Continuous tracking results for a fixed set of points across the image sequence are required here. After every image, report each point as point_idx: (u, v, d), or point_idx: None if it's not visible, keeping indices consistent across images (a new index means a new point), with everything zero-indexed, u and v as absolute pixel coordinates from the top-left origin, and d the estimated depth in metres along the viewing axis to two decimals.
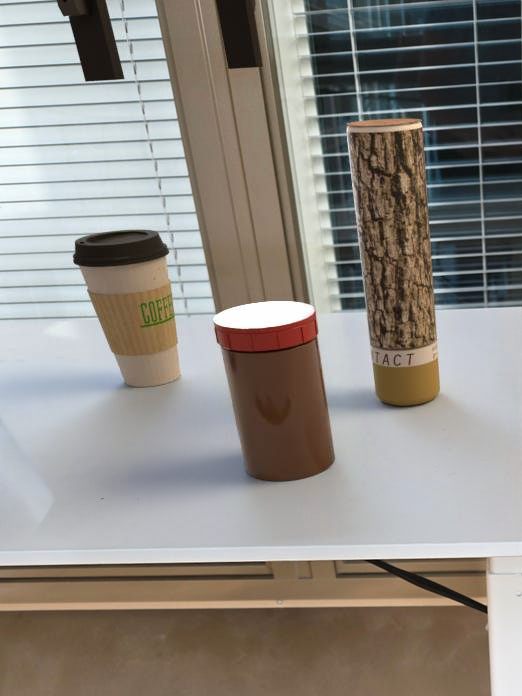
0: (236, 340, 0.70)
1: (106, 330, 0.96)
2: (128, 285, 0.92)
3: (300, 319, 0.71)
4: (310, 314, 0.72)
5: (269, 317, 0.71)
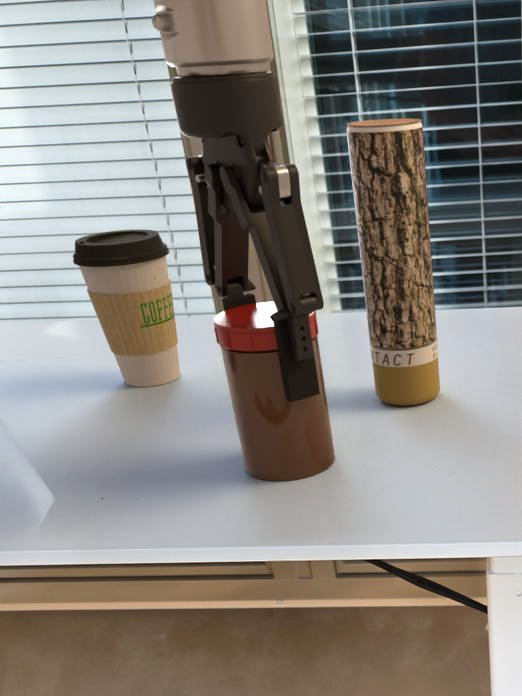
0: (236, 340, 0.70)
1: (106, 330, 0.96)
2: (128, 285, 0.92)
3: None
4: (310, 314, 0.72)
5: (269, 317, 0.71)
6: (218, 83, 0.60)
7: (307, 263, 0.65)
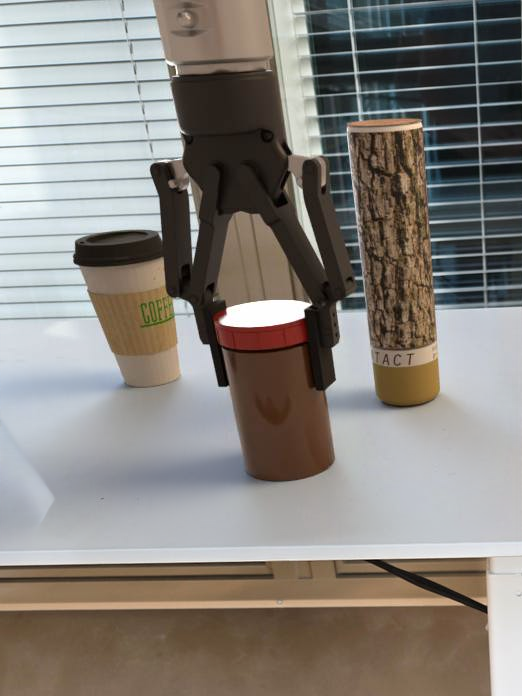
0: (268, 338, 0.70)
1: (106, 330, 0.96)
2: (128, 285, 0.92)
3: None
4: None
5: (277, 313, 0.72)
6: (252, 78, 0.61)
7: (343, 249, 0.69)
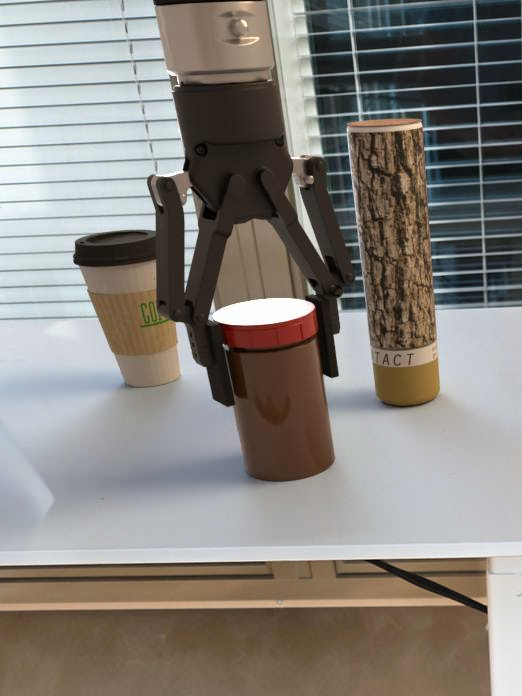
0: (308, 326, 0.71)
1: (106, 330, 0.96)
2: (128, 285, 0.92)
3: (296, 299, 0.75)
4: (281, 298, 0.75)
5: (279, 308, 0.73)
6: (277, 85, 0.64)
7: None
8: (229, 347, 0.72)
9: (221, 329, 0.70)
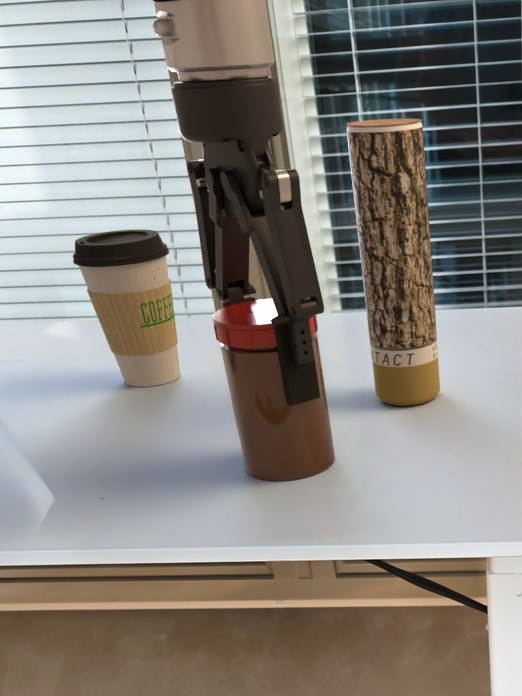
0: None
1: (106, 330, 0.96)
2: (128, 285, 0.92)
3: None
4: None
5: None
6: (219, 88, 0.60)
7: (308, 267, 0.65)
8: (229, 347, 0.72)
9: (221, 329, 0.70)
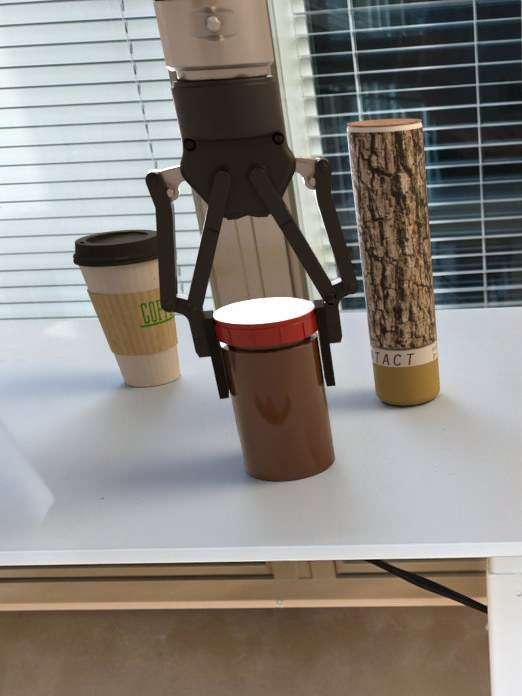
0: None
1: (106, 330, 0.96)
2: (128, 285, 0.92)
3: (249, 300, 0.75)
4: (232, 304, 0.74)
5: (266, 306, 0.73)
6: (270, 82, 0.62)
7: None
8: (229, 347, 0.72)
9: (271, 329, 0.69)
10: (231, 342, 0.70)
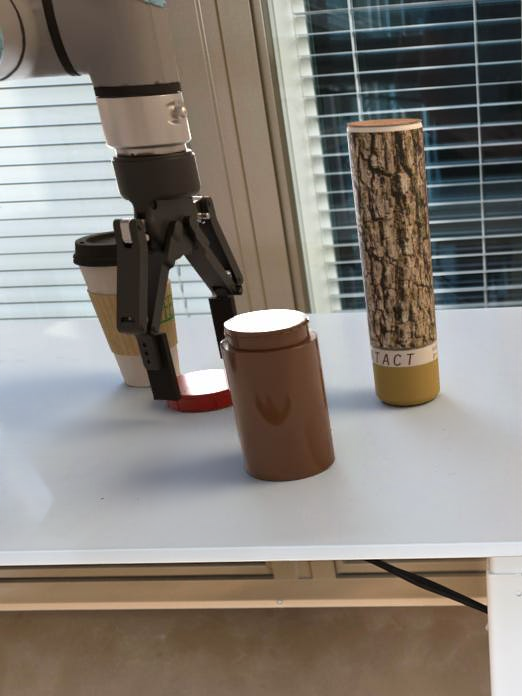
0: None
1: (106, 330, 0.96)
2: None
3: None
4: None
5: (194, 380, 0.95)
6: None
7: None
8: (229, 347, 0.72)
9: None
10: (218, 406, 0.92)
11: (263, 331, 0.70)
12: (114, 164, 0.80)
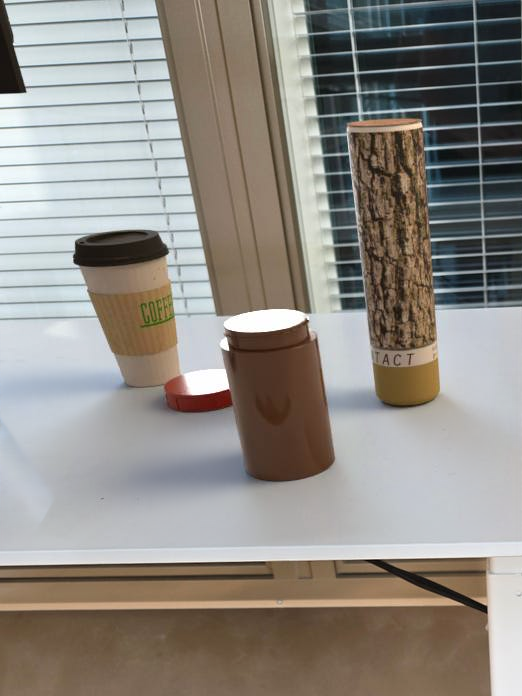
0: None
1: (106, 330, 0.96)
2: (128, 285, 0.92)
3: (167, 383, 0.94)
4: (166, 388, 0.93)
5: (194, 380, 0.95)
6: None
7: None
8: (229, 347, 0.72)
9: None
10: (218, 406, 0.92)
11: (263, 331, 0.70)
12: None
